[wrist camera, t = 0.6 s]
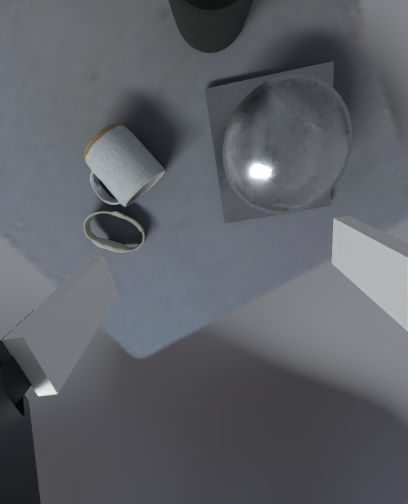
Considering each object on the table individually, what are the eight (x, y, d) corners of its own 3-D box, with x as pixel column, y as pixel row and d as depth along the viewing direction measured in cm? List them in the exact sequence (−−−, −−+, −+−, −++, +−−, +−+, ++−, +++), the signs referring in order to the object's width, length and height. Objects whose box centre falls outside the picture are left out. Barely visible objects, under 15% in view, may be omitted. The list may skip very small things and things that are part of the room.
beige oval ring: (88, 234, 39) (73, 245, 35) (96, 199, 37) (80, 205, 33) (142, 253, 41) (133, 266, 36) (152, 220, 38) (145, 228, 34)
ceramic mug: (128, 122, 33) (106, 114, 26) (170, 168, 35) (160, 173, 28) (82, 175, 36) (51, 181, 29) (123, 215, 38) (103, 229, 31)
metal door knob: (205, 90, 31) (205, 73, 25) (329, 64, 30) (364, 38, 24) (225, 221, 38) (228, 235, 31) (327, 203, 37) (353, 214, 30)
